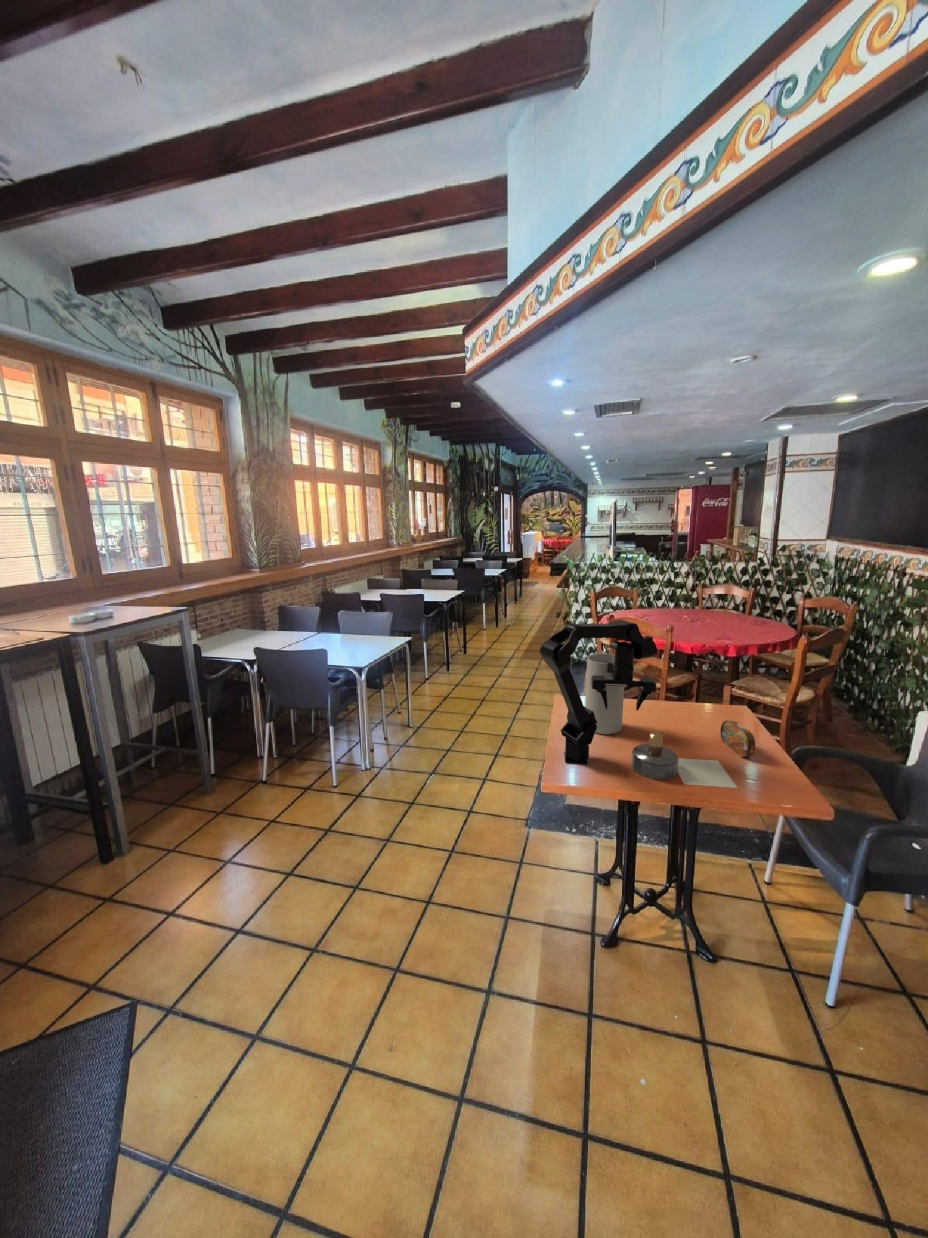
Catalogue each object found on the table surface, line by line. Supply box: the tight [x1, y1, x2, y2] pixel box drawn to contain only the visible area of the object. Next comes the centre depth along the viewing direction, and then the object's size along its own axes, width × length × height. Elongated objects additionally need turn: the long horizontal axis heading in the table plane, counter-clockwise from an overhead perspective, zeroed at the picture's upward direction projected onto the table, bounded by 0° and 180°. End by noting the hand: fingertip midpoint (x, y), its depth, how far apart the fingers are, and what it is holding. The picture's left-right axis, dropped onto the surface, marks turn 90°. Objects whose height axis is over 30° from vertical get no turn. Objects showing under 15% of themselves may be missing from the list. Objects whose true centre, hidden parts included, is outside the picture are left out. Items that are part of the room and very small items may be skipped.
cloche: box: [630, 731, 678, 781], centre depth 141 cm, size 12×12×11 cm
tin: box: [719, 720, 756, 758], centre depth 152 cm, size 15×3×8 cm, turn 1°
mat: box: [677, 757, 738, 789], centre depth 140 cm, size 14×15×1 cm
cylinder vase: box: [584, 653, 625, 736], centre depth 168 cm, size 12×12×25 cm
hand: (621, 709), depth 153 cm, fingers open, 9 cm apart
